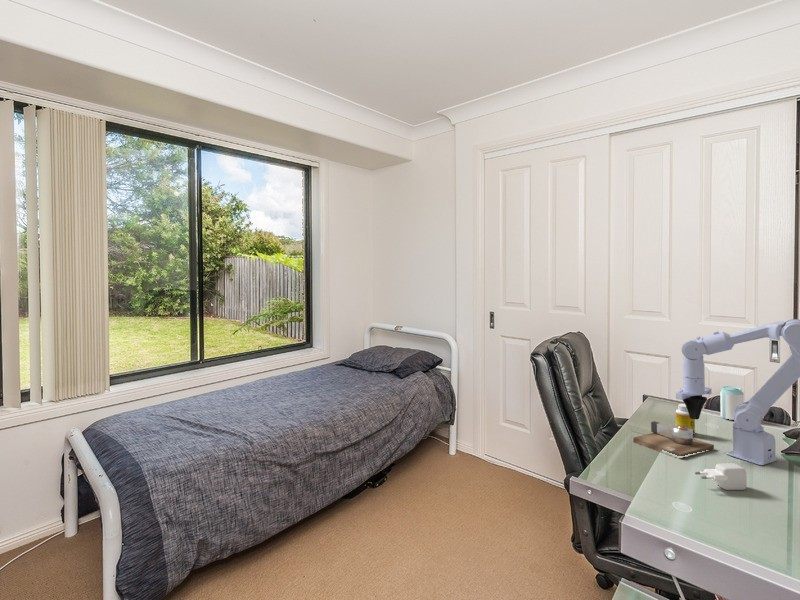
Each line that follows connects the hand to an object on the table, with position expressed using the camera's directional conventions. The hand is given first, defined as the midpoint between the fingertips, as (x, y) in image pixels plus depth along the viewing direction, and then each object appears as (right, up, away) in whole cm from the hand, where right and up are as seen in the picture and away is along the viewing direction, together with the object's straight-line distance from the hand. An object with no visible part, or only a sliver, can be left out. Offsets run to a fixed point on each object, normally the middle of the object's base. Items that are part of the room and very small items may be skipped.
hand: (694, 418), depth 136 cm
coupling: (-5, -8, +5) cm, 10 cm away
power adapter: (-11, -11, -26) cm, 31 cm away
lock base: (-6, -10, +2) cm, 11 cm away
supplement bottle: (+5, -9, +12) cm, 16 cm away
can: (+32, -8, +25) cm, 42 cm away
